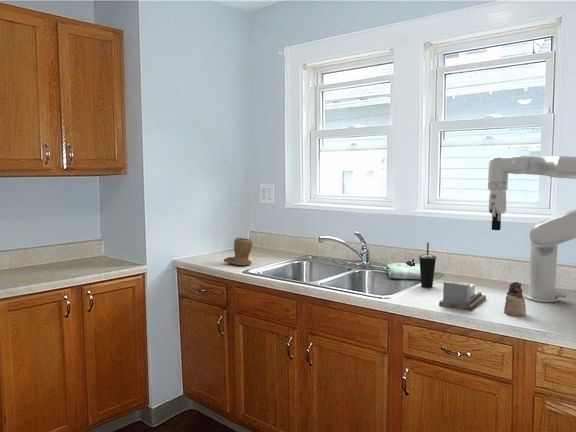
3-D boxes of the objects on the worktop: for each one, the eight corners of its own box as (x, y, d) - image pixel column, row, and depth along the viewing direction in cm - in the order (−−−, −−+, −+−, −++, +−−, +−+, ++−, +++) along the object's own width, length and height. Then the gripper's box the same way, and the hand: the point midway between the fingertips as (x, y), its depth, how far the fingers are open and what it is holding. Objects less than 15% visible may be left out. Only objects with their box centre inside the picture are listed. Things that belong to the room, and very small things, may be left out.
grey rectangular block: (469, 304, 184) (469, 284, 183) (466, 306, 182) (467, 285, 181) (445, 300, 189) (446, 280, 188) (443, 302, 187) (443, 282, 186)
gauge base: (485, 299, 197) (485, 292, 196) (470, 311, 181) (470, 304, 180) (456, 294, 204) (456, 288, 204) (439, 305, 188) (439, 298, 188)
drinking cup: (433, 289, 212) (434, 244, 210) (415, 287, 216) (416, 243, 214) (437, 285, 219) (438, 242, 217) (421, 283, 223) (421, 240, 221)
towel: (422, 271, 250) (422, 261, 249) (429, 281, 229) (429, 270, 228) (386, 270, 252) (386, 261, 252) (389, 280, 231) (390, 270, 231)
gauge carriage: (474, 296, 194) (474, 284, 193) (466, 302, 186) (467, 289, 186) (452, 293, 199) (453, 281, 199) (444, 298, 191) (444, 286, 191)
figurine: (519, 310, 181) (520, 279, 179) (529, 316, 174) (531, 284, 172) (500, 311, 180) (501, 279, 179) (510, 317, 173) (511, 284, 172)
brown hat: (257, 264, 269) (256, 237, 268) (241, 267, 261) (240, 240, 259) (238, 261, 280) (238, 235, 278) (223, 264, 271) (222, 237, 269)
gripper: (502, 187, 193) (500, 232, 195) (511, 185, 205) (509, 228, 207) (483, 186, 198) (481, 231, 200) (493, 185, 210) (491, 227, 211)
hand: (496, 229), depth 203 cm, fingers closed
